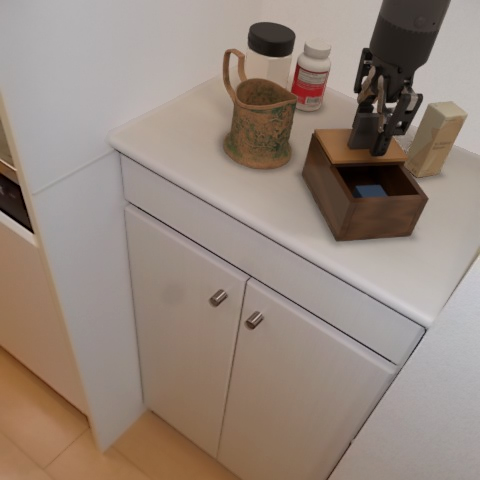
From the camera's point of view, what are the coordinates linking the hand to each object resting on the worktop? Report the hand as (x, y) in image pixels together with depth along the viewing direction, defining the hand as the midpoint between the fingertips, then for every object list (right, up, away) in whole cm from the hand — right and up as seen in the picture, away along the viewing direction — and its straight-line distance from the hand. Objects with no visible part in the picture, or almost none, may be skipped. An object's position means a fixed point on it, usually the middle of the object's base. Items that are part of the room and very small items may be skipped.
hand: (367, 141), depth 75 cm
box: (+13, 0, +15) cm, 20 cm away
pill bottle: (-6, +15, +24) cm, 29 cm away
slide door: (-1, 0, +2) cm, 2 cm away
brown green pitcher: (-17, +5, +14) cm, 23 cm away
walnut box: (-1, -8, +6) cm, 10 cm away
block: (0, -10, +3) cm, 10 cm away
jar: (-14, +16, +24) cm, 32 cm away
